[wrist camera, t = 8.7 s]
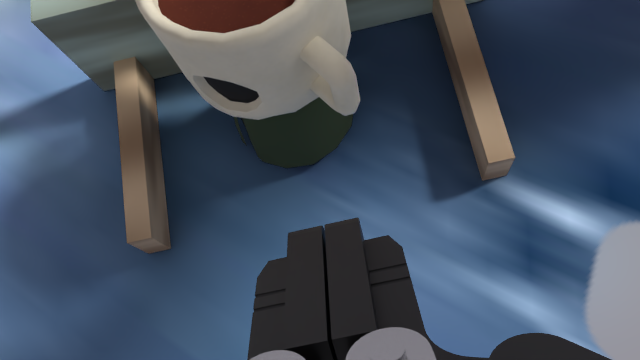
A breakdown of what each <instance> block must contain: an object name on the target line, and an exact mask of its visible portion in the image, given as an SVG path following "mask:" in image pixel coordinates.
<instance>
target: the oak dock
mask: <svg viewBox="0 0 640 360" xmlns="http://www.w3.org/2000/svg"><path fill="white" fill-rule="evenodd" d="M478 1H482V0H346V6H347V12H348V18H349V25H350V31H351V32H353V31H357V30H361V29H365V28H369V27H374V26H378V25H382V24H386V23H390V22H394V21H399V20H403V19H407V18H411V17H415V16H419V15H424V14H428V13H433V17H434V20H435V23H436V27H437V30H438V34H439V37H440V40H441V44H442V47H443V50H444V54H445V57H446V61H447V64H448V67H449V71H450V74H451V77H452V81H453V84H454V87H455V91H456V94H457V98H458V101H459V104H460V108H461V111H462V114H463V118H464V121H465V125H466V128H467V131H468V135H469V138H470V141H471V145H472V148H473V151H474V155H475V158H476V162H477V165H478V168H479V172H480V175H481V178H482V181H483V180H488V179H492V178H497V177H502V176H506V175H507V173H508V171H509V169H510V167H511V165H512V163H513V161H514V159H515V155H514V152H513V149H512V146H511V143H510V140H509V137H508V134H507V131H506V127H505V124H504V121H503V118H502V115H501V112H500V109H499V106H498V103H497V99H496V96H495V93H494V90H493V87H492V84H491V81H490V78H489V75H488V72H487V68H486V65H485V62H484V59H483V56H482V53H481V50H480V47H479V44H478V40H477V37H476V34H475V31H474V28H473V25H472V22H471V19H470V16H469V12H468V9H467V6H466V4H469V3H474V2H478ZM31 22H32V23H33V24H34V25H35V26H36V27H37V28H38V29H39V30H40V31H41V32H42V33H43V34H44V35H45V36H47V37H48V38H49V39H50V40H51V41H52V42H53V43H54V44H55V45H56V46H57V47H58V48H59V49H60V50H61V51H62V52H63V53H64V54H65V55H66V56H67V57H69V58H70V59H71V60H72V61H73V62H74V63H75V64H76V65H77V66H78V67H79V68H80V69H81V70H82V71H83V72H84V73H85V74H86V75H87V76H88V77H89V78H91V79H92V80H93V81H94V82H95V83H96V84H97V85H98V86H99V87H100V88H101V89H102V90H103V91H107V90H111V89H116V102H117V116H118V129H119V143H120V156H121V170H122V183H123V196H124V210H125V223H126V237H127V243H128V244H130V245H132V246H134V247H136V248H138V249H140V250H142V251H144V252H146V253H148V254H149V253H154V252H159V251H163V250H168V249H171V244H170V234H169V224H168V214H167V204H166V194H165V184H164V174H163V164H162V154H161V144H160V134H159V124H158V114H157V104H156V94H155V84H154V79H157V78H161V77H165V76H170V75H174V74H178V73H182V71H181V69H180V68H179V66H178V65H177V63H176V62H175V60H174V59H173V57H172V56H171V54H170V53H169V52H168V50H167V49H166V47H165V46H164V45H163V43H162V42H161V41H160V39H159V38H158V36H157V35H156V34H155V32H154V31H153V29H152V28H151V27H150V25H149V24H148V22H147V21H146V20H145V18H144V17H143V15H142V14H141V12H140V10H139V9H138V6H137V4H136V2H135V0H31Z"/></svg>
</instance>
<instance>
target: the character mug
mask: <svg viewBox="0 0 640 360" xmlns="http://www.w3.org/2000/svg"><path fill="white" fill-rule="evenodd" d="M135 2H136V4H137V6H138V9H139V10H140V12H141V14H142V15H143V17H144V18H145V20H146V21H147V22H148V24H149V25H150V27H151V28H152V29H153V31H154V32H155V34H156V35H157V36H158V38H159V39H160V41H161V42H162V43H163V45H164V46H165V47H166V49H167V50H168V52H169V53H170V54H171V56H172V57H173V59H174V60H175V62H176V63H177V65H178V66H179V68H180V69H181V71H182V72H183V74H184V75H185V77H186V78H187V80H189V81H190V82H191V84H192V85H193V87H194V88H195V89H196V90H197V91H198V93H199V94H200V95H201V96H202V98H203V99H204V100H206V101H207V102H208V103H209V104H211V105H212V106H213V107H214V108H216V109H218V110H219V111H222V112H224V113H226V114H228V115H231V116H233V117H234V120H235V124H236V127H237V129H238V132H239V134H240V136H241V139H242V141H243V143H244V144H245V145H246V142H245V140H244V138H243V135H242V133H241V130H240V127H239V124H238V120H237V118H238V117H240V118H241V119H242V121H243V123H244V125H245V127H246V129H247V132H248V135H249V138H250V140H251V142H252V145H253V147H254V149H255V151H256V153H257V156H258V157H259V158H260V159H261V160H262V161H263V162H266V163H270V164H273V165H277V166H281V167H284V168H291V167H298V166H305V165H312V164H315V163H316V162H318V161H319V160H320V159H322V158H323V157H325V156H326V155H327V154H329V153H330V152H332V151H333V150H334V149H336V148H337V147H338V145H339V144H340V142H341V141H342V139H343V138H344V136H345V135H346V133H347V132H348V130H349V129H350V127H351V126H352V119H353V114H354V113H355V112H356V110H357V108H358V105H359V103H360V95H359V89H358V83H357V77H356V74H355V72H354V70H353V67H352V65H351V63H350V62H349V61H348V60H347V59H346V56H347V51H348V47H349V43H350V39H351V31H350V25H349V18H348V12H347V6H346V0H135ZM246 146H247V145H246Z"/></svg>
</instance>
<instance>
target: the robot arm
mask: <svg viewBox="0 0 640 360" xmlns="http://www.w3.org/2000/svg"><path fill="white" fill-rule="evenodd" d="M255 296H256V298H255V300H254V313H253V317H252V326H251V334H250V342H249V351H248V359H247V360H611V359H609V358H606V357H604V356H602V355H600V354H597V353H595V352H593V351H591V350H588V349H586V348H584V347H582V346H579V345H577V344H575V343H573V342H570V341H568V340H566V339H563V338H561V337H558V336H554V335H550V334H544V333H528V334H521V335H517V336H514V337H511V338H509V339H507V340H505V341H503V342H502V343H501V344H499V345H498V346H497V347H496V348H495V349H494V350H493V352H492V353H491V355H490V357H489V358H478V357H466V356H460V355H456V354H452V353H450V352H447V351H445V350H443V349H441V348H440V347H438V346H437V345H435V344H434V343H433V342H432V341H431V340H430V338H429V337H428V335H427V334H426V331H425V329H424V325H423V321H422V318H421V314H420V310H419V307H418V303H417V300H416V296H415V292H414V289H413V285H412V281H411V278H410V274H409V271H408V267H407V263H406V260H405V256H404V252H403V249H402V246H400V245H399V244H398V243H397V242H396V241H394V240H393V239H392V238H391V237H390V236H388V235H387V236H382V237H378V238H373V239H368V240H364V237H363V233H362V229H361V225H360V221H359V218H354V219H349V220H344V221H340V222H335V223H331V224H326V225H325V230H324V228H323V226H317V227H313V228H308V229H304V230H299V231H295V232H290V233H288V247H287V257H285V258H281V259H276V260H271V261H268V263H267V264H266V266H265V267H264V269H263V270H262V272H261V273H260V274H259V276H258V277H257V284H256V292H255Z"/></svg>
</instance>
